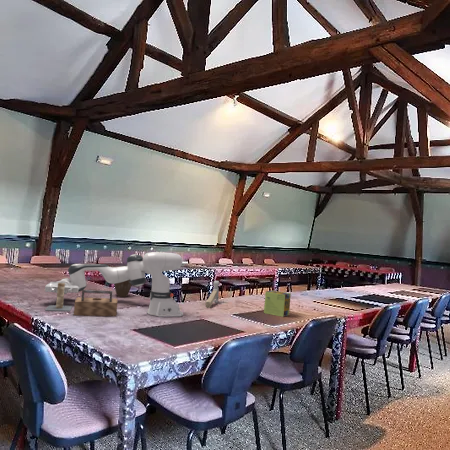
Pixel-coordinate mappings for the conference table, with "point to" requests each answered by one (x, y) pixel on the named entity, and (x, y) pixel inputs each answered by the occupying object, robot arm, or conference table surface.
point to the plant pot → (122, 288)
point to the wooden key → (60, 295)
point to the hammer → (213, 295)
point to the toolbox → (95, 305)
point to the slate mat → (53, 308)
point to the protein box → (277, 303)
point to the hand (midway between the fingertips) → (60, 290)
